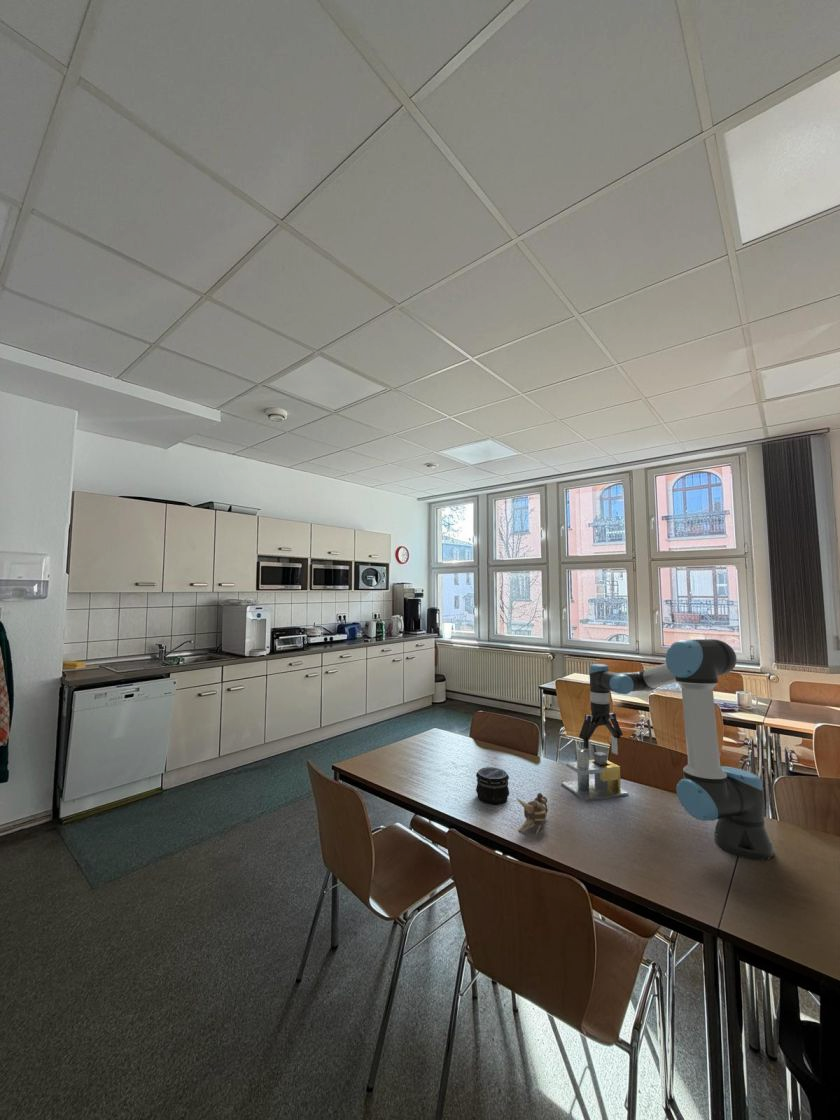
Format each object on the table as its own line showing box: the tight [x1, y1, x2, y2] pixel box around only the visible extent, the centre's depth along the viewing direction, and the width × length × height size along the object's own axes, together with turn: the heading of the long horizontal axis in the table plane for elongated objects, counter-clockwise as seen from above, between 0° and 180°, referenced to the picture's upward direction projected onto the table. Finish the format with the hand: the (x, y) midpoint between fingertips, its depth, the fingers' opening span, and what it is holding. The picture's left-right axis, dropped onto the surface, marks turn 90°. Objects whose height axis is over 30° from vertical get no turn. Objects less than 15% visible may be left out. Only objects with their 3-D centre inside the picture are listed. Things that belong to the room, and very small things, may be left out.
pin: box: [593, 751, 608, 788], centre depth 185 cm, size 4×4×13 cm
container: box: [475, 766, 510, 806], centre depth 174 cm, size 13×13×10 cm
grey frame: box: [560, 748, 629, 802], centre depth 184 cm, size 16×20×16 cm
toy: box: [516, 792, 549, 835], centre depth 153 cm, size 11×8×15 cm
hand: (601, 755), depth 185 cm, fingers open, 12 cm apart
